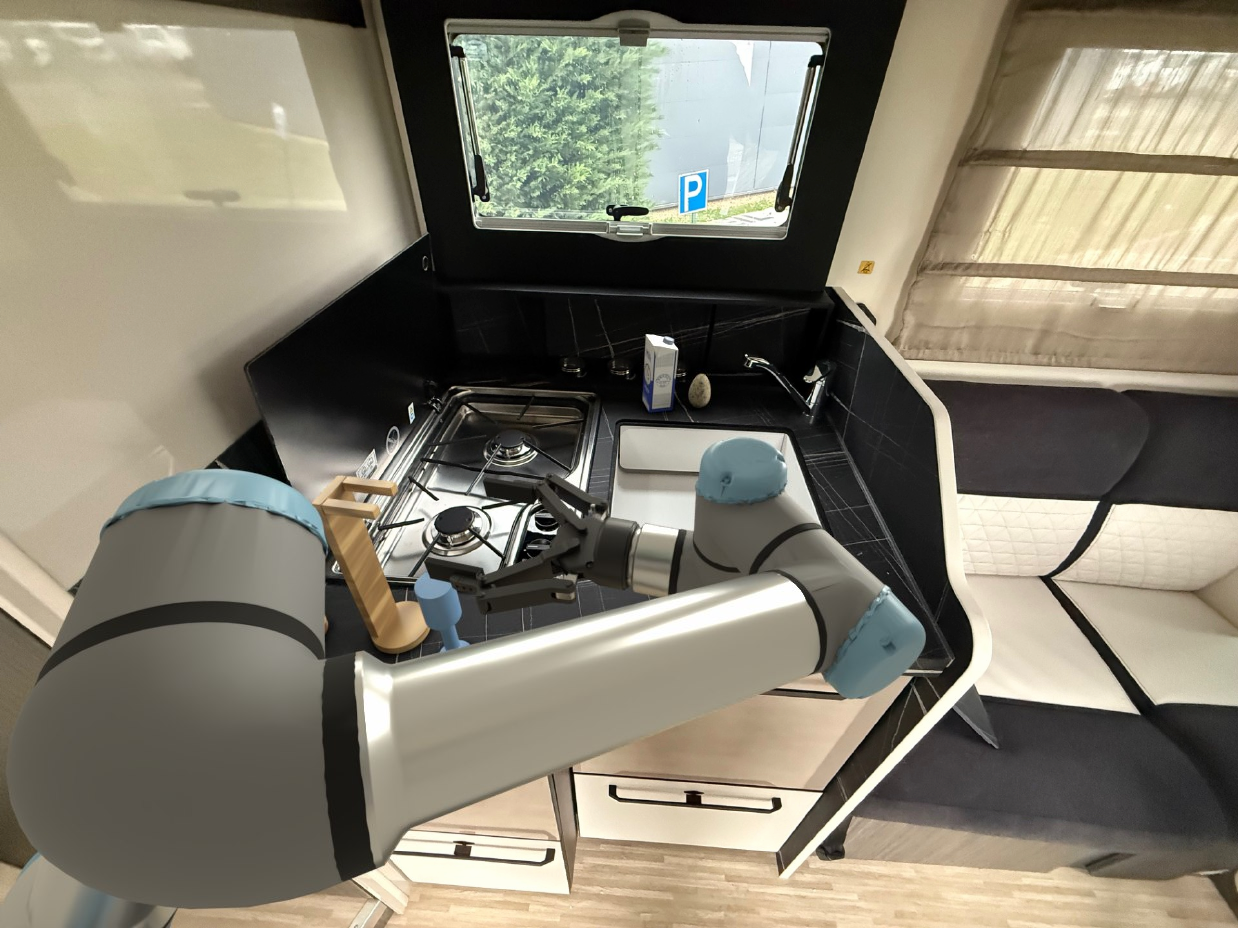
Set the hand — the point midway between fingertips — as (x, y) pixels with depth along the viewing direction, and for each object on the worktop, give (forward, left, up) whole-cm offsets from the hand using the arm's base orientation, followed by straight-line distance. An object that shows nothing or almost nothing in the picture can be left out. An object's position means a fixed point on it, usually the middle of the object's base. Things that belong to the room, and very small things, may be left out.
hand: (459, 523), depth 61 cm
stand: (-8, +15, -32) cm, 36 cm away
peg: (-4, +6, -32) cm, 33 cm away
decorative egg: (+81, +41, -32) cm, 97 cm away
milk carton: (+72, +48, -32) cm, 93 cm away
